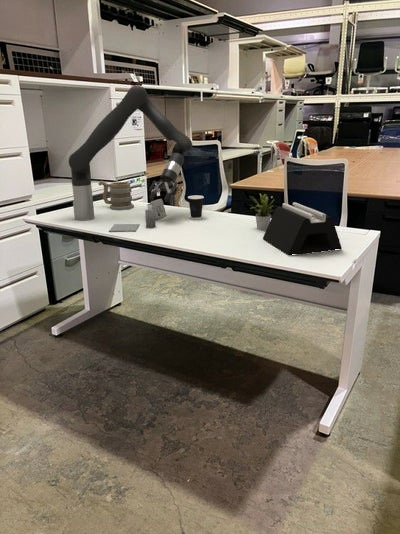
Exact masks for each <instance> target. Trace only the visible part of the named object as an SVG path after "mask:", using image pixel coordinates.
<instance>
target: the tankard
mask: <svg viewBox="0 0 400 534" xmlns="http://www.w3.org/2000/svg"><path fill="white" fill-rule="evenodd" d="M98 186H103V194H102V199H103V201H104V203H105V204H106V205H109V208H110V209H111V210H112V211H127V210H128V211H129V210H132V209H133V208H135V206H134V204H133V203H132V201H133V196H132V195H131V194H132V193H131V192H132V187H131V183H130V182H128V181H117V182H116V181H115V182H111V183H107V182H106V181H103V180H100V181H98ZM109 192H110V193H111V194H110V195H111V196H110V197H109V198H110V200H109V199H108V193H109Z"/></svg>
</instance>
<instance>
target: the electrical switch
mask: <svg viewBox="0 0 400 534" xmlns="http://www.w3.org/2000/svg"><path fill="white" fill-rule="evenodd" d="M147 205H152V209H153V210H155V221H157V220H159V219H162V218H165V217H167V212H166V208H165V204H164V201H163V199H162V198H159V199H155V200H153V201H150V203H147ZM147 205H146V206H147Z"/></svg>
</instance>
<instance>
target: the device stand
mask: <svg viewBox="0 0 400 534" xmlns="http://www.w3.org/2000/svg"><path fill="white" fill-rule="evenodd" d="M274 210H275V211H273V212H274V213H273V214H272V215H271V219H270V223H269V225H268V227H267V230H265V232H264V233H263V234H264V235H263V236H262V239H263V240H264V241H265V242H266V243H268V244H269V245H272V246H273V247H275V248H276V249H278V250H279V251H280V250H281V252H282V251H283V252H282V253H284V254H285V253H286V254H285V255H287V254H288V255H292V254H301V255H304V254H303V253H310V254H313V253H312V252H319V253H322V252H321V251H328V250H335V249H341V250H342V244H341V241H340V238H339V235H338V232H337V229H336V225H335V223H334V221H335V220H334V219H333V217H332V216H330V215H329V214H328V215H327V214H326V213H324V212H321V211H319V210H316V209H314V208H311V207H308V206H305V205H302V204H300V203H297V202H295V201H294V202H292V205H290V204H288V203H286V202H284V203H282V206H280V205H279V206H277V207H276V208H275V209H274ZM328 252H329V251H328ZM288 255H287V256H288ZM292 256H293V255H292Z"/></svg>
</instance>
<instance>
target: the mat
mask: <svg viewBox="0 0 400 534" xmlns="http://www.w3.org/2000/svg"><path fill="white" fill-rule="evenodd" d="M139 227H140V223H114V224H113V226H111V228H110V229H109V230H108V231H109V233H126V232H127V233H132V232H133V233H134V232H137V230H138V228H139Z"/></svg>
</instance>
